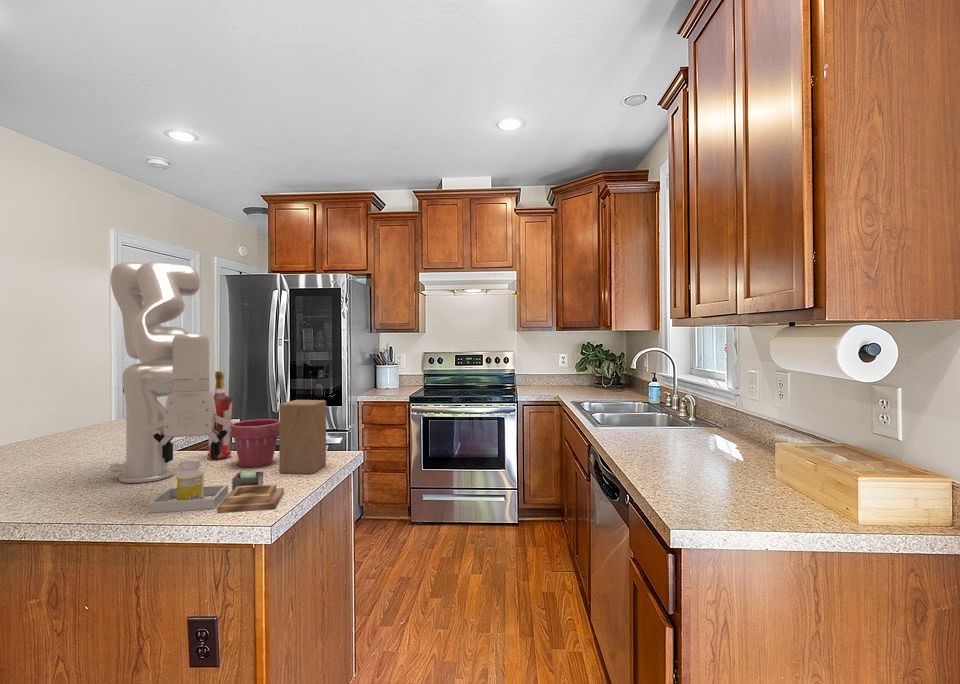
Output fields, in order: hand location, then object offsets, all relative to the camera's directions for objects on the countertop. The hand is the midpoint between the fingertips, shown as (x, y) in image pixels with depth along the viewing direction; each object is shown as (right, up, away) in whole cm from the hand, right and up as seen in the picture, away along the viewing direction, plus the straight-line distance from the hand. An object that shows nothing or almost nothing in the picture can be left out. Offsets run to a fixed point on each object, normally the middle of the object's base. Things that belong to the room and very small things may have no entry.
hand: (191, 460), depth 115 cm
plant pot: (-2, -10, +37) cm, 39 cm away
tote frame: (-1, -10, +1) cm, 10 cm away
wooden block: (+15, -10, +31) cm, 36 cm away
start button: (+8, -8, +10) cm, 15 cm away
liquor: (-17, -10, +44) cm, 48 cm away
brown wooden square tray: (+14, -10, +1) cm, 17 cm away
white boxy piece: (+8, -10, +10) cm, 17 cm away
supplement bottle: (-1, -10, +1) cm, 10 cm away
